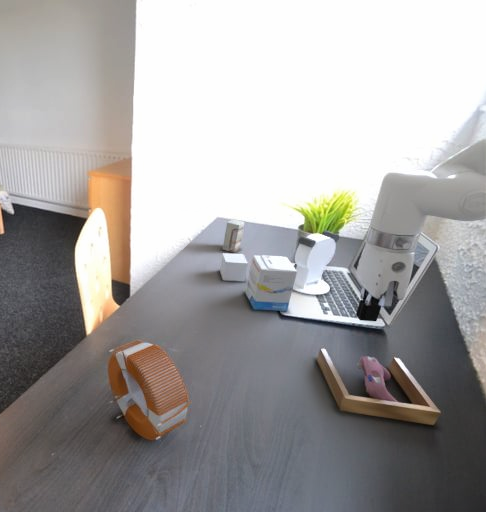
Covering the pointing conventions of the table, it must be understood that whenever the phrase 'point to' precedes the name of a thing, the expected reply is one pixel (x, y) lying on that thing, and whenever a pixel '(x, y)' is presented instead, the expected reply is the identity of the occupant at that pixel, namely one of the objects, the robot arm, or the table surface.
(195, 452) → the table surface
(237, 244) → the cosmetics bottle
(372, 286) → the robot arm
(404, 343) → the table surface
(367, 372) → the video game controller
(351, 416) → the table surface
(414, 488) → the table surface
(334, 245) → the white curved upright piece
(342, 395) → the bay
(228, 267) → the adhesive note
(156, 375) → the coil
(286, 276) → the ink box
